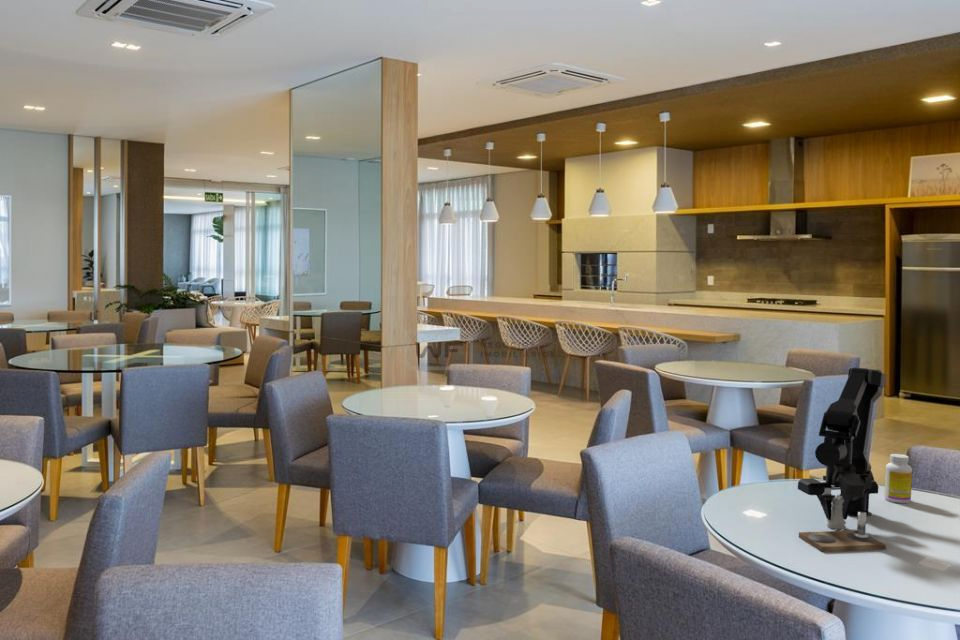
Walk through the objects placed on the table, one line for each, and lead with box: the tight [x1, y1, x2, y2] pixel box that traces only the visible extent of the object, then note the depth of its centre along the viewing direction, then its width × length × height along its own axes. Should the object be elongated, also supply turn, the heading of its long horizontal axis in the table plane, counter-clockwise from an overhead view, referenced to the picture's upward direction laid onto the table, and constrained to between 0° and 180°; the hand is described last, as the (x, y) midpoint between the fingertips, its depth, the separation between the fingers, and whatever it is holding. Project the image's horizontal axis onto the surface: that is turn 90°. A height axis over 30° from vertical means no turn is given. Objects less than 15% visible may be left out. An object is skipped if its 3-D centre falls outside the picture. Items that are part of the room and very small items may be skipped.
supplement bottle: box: [884, 453, 913, 504], centre depth 225 cm, size 7×7×13 cm
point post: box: [854, 511, 870, 539], centre depth 191 cm, size 3×3×6 cm
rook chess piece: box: [826, 494, 847, 531], centre depth 202 cm, size 4×4×8 cm
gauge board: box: [798, 529, 887, 553], centre depth 190 cm, size 16×10×1 cm, turn 98°
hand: (836, 519), depth 202 cm, fingers open, 4 cm apart
